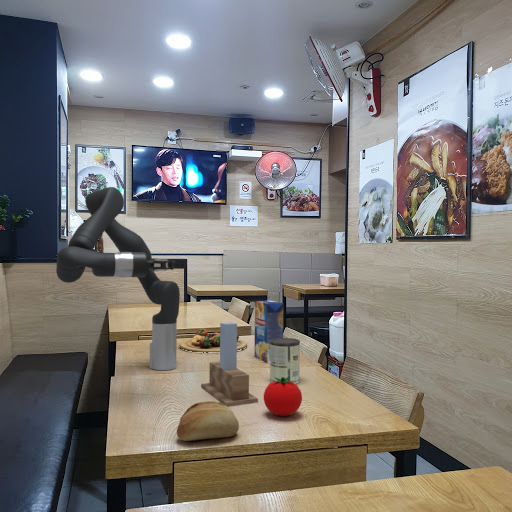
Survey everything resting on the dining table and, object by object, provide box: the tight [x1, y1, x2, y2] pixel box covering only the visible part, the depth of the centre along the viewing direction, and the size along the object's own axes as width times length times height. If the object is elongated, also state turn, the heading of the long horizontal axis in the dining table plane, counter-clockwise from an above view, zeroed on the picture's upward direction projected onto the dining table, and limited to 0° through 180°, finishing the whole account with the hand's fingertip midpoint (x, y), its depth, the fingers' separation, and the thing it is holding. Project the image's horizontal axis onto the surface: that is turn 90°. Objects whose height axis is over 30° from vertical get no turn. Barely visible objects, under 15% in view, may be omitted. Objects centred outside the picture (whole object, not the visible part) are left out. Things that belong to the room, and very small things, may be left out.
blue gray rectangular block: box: [219, 321, 238, 370], centre depth 145 cm, size 4×4×14 cm
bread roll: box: [176, 400, 240, 442], centre depth 110 cm, size 10×15×8 cm, turn 114°
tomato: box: [263, 377, 303, 417], centre depth 126 cm, size 10×10×10 cm
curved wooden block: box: [200, 361, 259, 407], centre depth 145 cm, size 22×10×8 cm, turn 26°
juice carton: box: [254, 300, 284, 364], centre depth 195 cm, size 12×8×24 cm, turn 25°
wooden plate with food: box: [178, 327, 248, 353], centre depth 221 cm, size 32×32×8 cm
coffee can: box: [269, 337, 301, 385], centre depth 161 cm, size 10×10×14 cm
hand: (182, 264), depth 146 cm, fingers open, 8 cm apart
